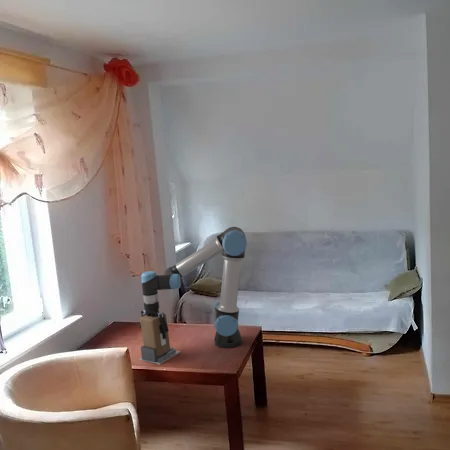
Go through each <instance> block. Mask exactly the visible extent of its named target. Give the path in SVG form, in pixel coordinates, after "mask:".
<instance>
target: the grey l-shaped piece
mask: <svg viewBox="0 0 450 450" xmlns="http://www.w3.org/2000/svg"><path fill="white" fill-rule="evenodd" d="M180 353H181V351H179V350H176V348H174V347H172V346H170V350H169V351H167V352H165V353H163V354H161V355H159V356H157V354H156V349H155V348H151V347H146V346H144V345H141V346H140V354H141V357H139V358H138V359H139V361H143V362H148V363H151V364H156V365H161V364H163V363H165V362H166V361H168V360H170V359H173V358H174V357H175V356H177V355H178V354H180Z"/></svg>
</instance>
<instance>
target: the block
mask: <svg viewBox="0 0 450 450" xmlns="http://www.w3.org/2000/svg"><path fill="white" fill-rule="evenodd" d="M164 318H165V321H166V324H167V327H168V321H167V320H168V319H167V314H166V313H164ZM139 319H140V322H141V328H140V330H141V335H142V342H143V344H142V346H146V347H151V348H155V349H156V354H157V356H159V355H161V354H163V353H165V352H167V351H169V350H170V347H171V344H170V336H169V331H168V332H166V339H165V340H166V344H165V345H163V346H161V337H160V333H161V331H160V329H159V325H161V322H160V319H159V316H157V317H151V316H147V315H144V316H142V317H140V318H139ZM168 328H169V327H168Z"/></svg>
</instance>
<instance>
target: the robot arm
mask: <svg viewBox="0 0 450 450" xmlns="http://www.w3.org/2000/svg"><path fill="white" fill-rule="evenodd" d="M246 237H247V236H246V235H245V232H244V230H242V228H240V227H238V226H230V227H228V228H226V229H225V230H224V231H222V232H221V233H220V234H218V235H217V236H215V239H214V240H213V241H210V242H209V243H208V244H205V245H204V246H203V247H200V249H198V250H196V251H195V252H193V253H191V254H190V255H189V256H187V257H185V258H184V259H182V260H180V261H178V262H177V263H176V264H174V265H172V266H169V267H167V268H166V269H165V271H164V273H163V274H159V275H158V274H157V273H156V272H155V271H154V270H152V271H151V270H149V271H148V270H147V271H144V272H142V273H141V275H140V276H141V288H142V298H143V306H144V309H142V310H141V311H140V316H141V317H142V316H144V315H147V316H151V317H157V316H159V319H160V322H161V325H159V329H160V331H161V333H160V337H161V346H163V345H165V344H166V340H165V339H166V332H168V333H169V327H167V326H168V323H167V324H166V321H165V318H164V314H165V313H164V312H160V311H159V310H160V301H159V293H158V291H165V290H166V291H167V290H176V289H180V288H181V284H182V283H181V282H182V281H181V279H182V278H183V277H185V276H186V275H188V274H190V273H191V272H193V271H194V270H196V269H198V268H199V267H201V266H202V265H203V264H205V263H207V262H208V261H211V260H212V259H215V257H217V256H218V255H220V254H221V257H222V258H223V268H222V276H221V278H222V279H221V287H220V288H221V289H220V295H219V297H220V300H219V301H217V302H215V303H214V313H215V315H214V328H215V335H214V340H213V341H214V345H215V346H216V347H219V348H224V349H229V348H230V349H231V348H235V347H238V346H240V345H241V344H242V343H243V336H242V335H241V331H240V330H239V313H240V308H239V307H238V306H237V305H238V296H239V295H238V294H239V285H240V284H239V283H240V276H241V275H240V273H241V265H242V261H243V259H245V258H246V248H247V245H248V244H247V243H248V242H247V238H246ZM141 317H140V318H141ZM139 328H140V329H141V321H140V323H139Z"/></svg>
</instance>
